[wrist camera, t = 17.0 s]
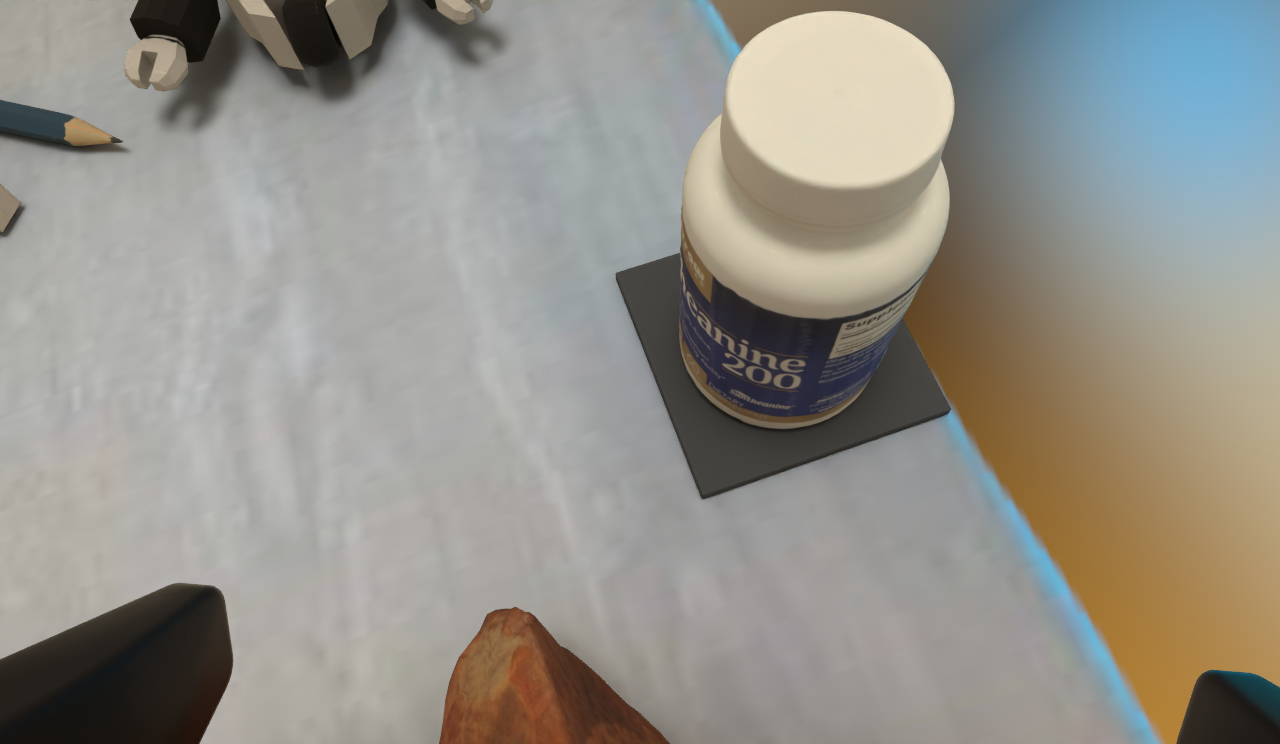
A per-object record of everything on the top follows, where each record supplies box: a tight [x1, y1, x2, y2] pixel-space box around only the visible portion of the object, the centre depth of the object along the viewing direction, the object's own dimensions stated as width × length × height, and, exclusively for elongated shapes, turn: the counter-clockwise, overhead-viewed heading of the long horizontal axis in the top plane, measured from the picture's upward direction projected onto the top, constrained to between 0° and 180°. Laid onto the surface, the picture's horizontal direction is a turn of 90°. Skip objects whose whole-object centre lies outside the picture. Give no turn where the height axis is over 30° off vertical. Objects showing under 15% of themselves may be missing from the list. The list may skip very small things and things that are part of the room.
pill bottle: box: [679, 11, 955, 429], centre depth 20 cm, size 5×5×10 cm
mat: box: [616, 253, 951, 499], centre depth 24 cm, size 7×7×1 cm
